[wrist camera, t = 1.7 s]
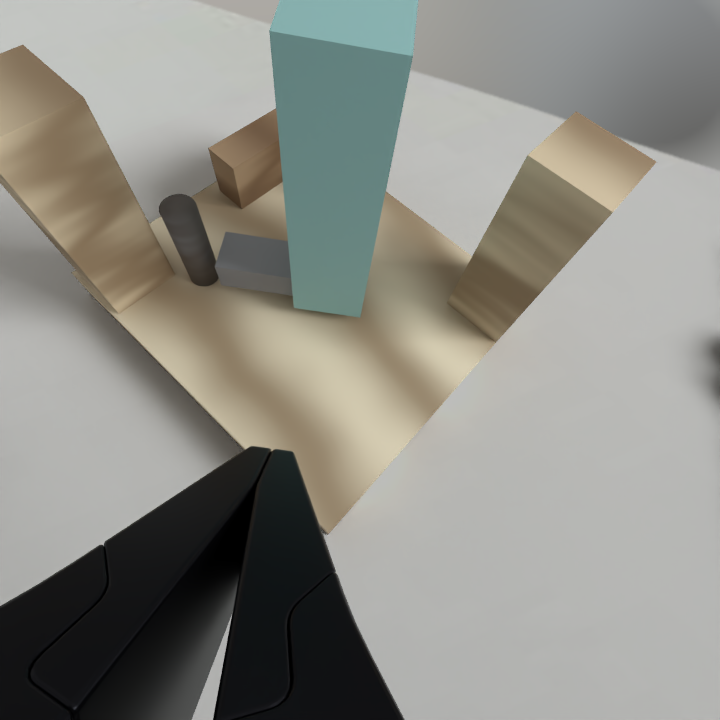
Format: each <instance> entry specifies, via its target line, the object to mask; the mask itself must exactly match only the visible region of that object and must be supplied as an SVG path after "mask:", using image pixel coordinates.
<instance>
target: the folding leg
mask: <svg viewBox="0 0 720 720" xmlns="http://www.w3.org/2000/svg"><path fill="white" fill-rule="evenodd" d="M417 7H418V0H280V1H279V4H278V7H277V10H276V13H275V16H274V19H273V22H272V25H271V28H270V31H269V32H270V43H271V54H272V66H273V77H274V88H275V100H276V111H277V122H278V134H279V145H280V157H281V168H282V179H283V191H284V202H285V213H286V225H287V236H288V241H284V240H277V239H271V238H264V237H258V236H251V235H245V234H238V233H232V232H225V235H224V238H223V242H222V245H221V248H220V251H219V255H218V258H217V261H216V264H215V269H216V272H217V274H218V277H219V280H220V283H221V285H223V286H230V287H236V288H243V289H250V290H257V291H263V292H270V293H277V294H284V295H291V296H293V304H294V308H298V309H305V310H312V311H319V312H326V313H332V314H339V315H346V316H353V317H360V316H361V311H362V306H363V301H364V296H365V291H366V286H367V281H368V276H369V271H370V266H371V261H372V256H373V251H374V246H375V242H376V237H377V232H378V227H379V222H380V217H381V212H382V207H383V202H384V197H385V192H386V187H387V182H388V177H389V172H390V167H391V162H392V157H393V152H394V147H395V142H396V137H397V132H398V127H399V122H400V117H401V112H402V107H403V102H404V97H405V92H406V88H407V83H408V78H409V73H410V68H411V63H412V58H413V49H414V39H415V28H416V18H417Z"/></svg>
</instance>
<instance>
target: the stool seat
mask: <svg viewBox="0 0 720 720" xmlns="http://www.w3.org/2000/svg"><path fill="white" fill-rule="evenodd" d="M208 149H209V152H210V156H211V160H212V164H213V167H214V171H215V175H216V178H217V181H216V182H215V183H213V184H211V185H210V186H208V187H207V188H205V189H204V190H202V191H200V192H199V193H197V194H196V195H194V196H192V197H190V196H187V195H183V194H175V195H171V196H169V197H167V198H165V199H164V200H163V201H162V202H161V204H160V206H159V212H160V215H161V217H159V218H158V219H156V220H154V221H153V222H151V223H150V224H149V223H148V221H147V219H146V217H145V215H144V213H143V211H142V209H141V207H140V205H139V203H138V201H137V200H136V198H135V196H134V194H133V192H132V190H131V188H130V186H129V184H128V182H127V180H126V178H125V176H124V174H123V172H122V171H121V169H120V167H119V165H118V163H117V161H116V159H115V157H114V155H113V153H112V151H111V149H110V147H109V145H108V143H107V141H106V140H105V138H104V136H103V134H102V132H101V130H100V128H99V126H98V124H97V122H96V120H95V118H94V116H93V114H92V112H91V111H90V109H89V107H88V105H87V103H86V101H85V99H84V97H83V96H82V95H80V94H79V93H78V92H77V91H76V90H75V89H73V88H72V87H71V86H70V85H69V84H68V83H66V82H65V81H64V80H63V79H62V78H61V77H60V76H58V75H57V74H56V73H55V72H54V71H53V70H51V69H50V68H49V67H48V66H47V65H46V64H44V63H43V62H42V61H41V60H40V59H39V58H38V57H36V56H35V55H34V54H33V53H32V52H31V51H29V50H28V49H27V48H26V47H25V46H24V45H21V46H18V47H16V48H13V49H11V50H8V51H6V52H3V53H1V54H0V183H1V184H2V186H3V187H4V188H5V189H6V190H7V191H8V192H9V194H10V195H11V196H12V197H13V198H14V199H15V200H16V202H17V203H18V204H19V205H20V206H21V207H22V208H23V210H24V211H25V212H26V213H27V214H28V215H29V217H30V218H31V219H32V220H33V221H34V222H35V223H36V225H37V226H38V227H39V228H40V229H41V230H42V231H43V233H44V234H45V235H46V236H47V237H48V238H49V240H50V241H51V242H52V243H53V244H54V245H55V246H56V248H57V249H58V250H59V251H60V252H61V253H62V254H63V256H64V257H65V258H66V259H67V260H68V261H69V262H70V264H71V265H72V266H73V267H74V268H75V269H76V270H75V271H73V272H72V274H73V275H74V276H75V277H76V278H77V279H78V281H79V282H80V283H81V284H82V285H83V286H84V287H85V288H86V290H87V291H88V292H89V293H90V294H91V295H92V296H93V297H94V298H95V299H96V300H97V301H98V302H99V303H100V304H101V305H102V306H103V307H104V308H105V309H106V310H107V311H108V312H109V313H110V314H111V315H112V316H113V317H114V318H115V319H116V320H117V321H118V322H119V323H120V324H121V325H122V326H123V327H124V328H125V329H126V330H127V331H128V332H129V334H130V335H131V336H132V337H133V338H134V339H135V340H136V341H137V342H138V343H139V344H140V345H141V346H142V347H143V348H144V349H145V350H146V351H147V352H148V353H149V354H150V355H151V356H152V357H153V358H154V359H155V360H156V361H157V362H158V363H159V364H160V365H161V366H162V367H163V368H164V369H165V370H166V371H167V372H168V373H169V374H170V375H171V376H172V377H173V378H174V379H175V380H176V381H177V382H178V383H179V384H180V385H181V386H182V387H183V388H184V389H185V390H186V391H187V392H188V393H189V394H190V395H191V396H192V397H193V398H194V400H195V401H196V402H197V403H198V404H199V405H200V406H201V407H202V408H203V409H204V410H205V411H206V412H207V413H208V414H209V415H210V416H211V417H212V418H213V419H214V420H215V421H216V422H217V423H218V424H219V425H220V426H221V427H222V428H223V429H224V430H225V431H226V432H227V433H228V434H229V435H230V436H231V437H232V438H233V439H234V440H235V441H236V442H237V443H238V444H239V445H240V446H241V447H242V448H243V449H244V450H245V449H247V448H248V447H250V446H258V447H265V448H270V449H271V451H273V450H274V449H280V450H288V451H293V452H294V454H295V456H296V459H297V462H298V465H299V468H300V471H301V474H302V476H303V479H304V482H305V485H306V488H307V491H308V493H309V496H310V499H311V502H312V505H313V508H314V510H315V513H316V516H317V519H318V522H319V525H320V527H321V528H322V529H323V530H324V531H325V532H326V534H327V535H328V534H329V533H330V532H331V531H332V529H333V528H334V527H335V526H336V525H337V524H338V523H339V521H340V520H341V519H342V518H343V517H344V516H345V515H346V513H347V512H348V511H349V510H350V509H351V508H352V507H353V505H354V504H355V503H356V502H357V501H358V500H359V499H360V497H361V496H362V495H363V494H364V493H365V492H366V490H367V489H368V488H369V487H370V486H371V485H372V484H373V482H374V481H375V480H376V479H377V478H378V477H379V476H380V474H381V473H382V472H383V471H384V470H385V469H386V468H387V466H388V465H389V464H390V463H391V462H392V461H393V460H394V458H395V457H396V456H397V455H398V454H399V453H400V452H401V450H402V449H403V448H404V447H405V446H406V445H407V444H408V442H409V441H410V440H411V439H412V438H413V437H414V436H415V434H416V433H417V432H418V431H419V430H420V429H421V428H422V426H423V425H424V424H425V423H426V422H427V421H428V420H429V418H430V417H431V416H432V415H433V414H434V413H435V412H436V410H437V409H438V408H439V407H440V406H441V405H442V403H443V402H444V401H445V400H446V399H447V398H448V397H449V395H450V394H451V393H452V392H453V391H454V390H455V389H456V387H457V386H458V385H459V384H460V383H461V382H462V381H463V379H464V378H465V377H466V376H467V375H468V374H469V373H470V371H471V370H472V369H473V368H474V367H475V366H476V365H477V363H478V362H479V361H480V360H481V359H482V358H483V357H484V355H485V354H486V353H487V352H488V351H489V350H490V349H491V347H492V346H493V345H494V344H495V343H496V342H497V341H498V339H499V338H500V337H501V336H502V335H503V334H504V333H505V332H506V331H507V329H508V328H509V327H510V326H511V325H512V324H513V323H514V322H515V321H516V319H517V318H518V317H519V316H520V315H521V314H522V313H523V312H524V311H525V309H526V308H527V307H528V306H529V305H530V304H531V303H532V302H533V301H534V299H535V298H536V297H537V296H538V295H539V294H540V293H541V292H542V291H543V289H544V288H545V287H546V286H547V285H548V284H549V283H550V282H551V281H552V279H553V278H554V277H555V276H556V275H557V274H558V273H559V272H560V271H561V269H562V268H563V267H564V266H565V265H566V264H567V263H568V262H569V261H570V259H571V258H572V257H573V256H574V255H575V254H576V253H577V252H578V250H579V249H580V248H581V247H582V246H583V245H584V244H585V243H586V242H587V240H588V239H589V238H590V237H591V236H592V235H593V234H594V233H595V232H596V230H597V229H598V228H599V227H600V226H601V225H602V224H603V223H604V222H605V220H606V219H607V218H608V217H609V216H610V215H611V214H612V213H613V212H614V210H615V209H616V208H617V207H618V206H619V205H620V203H621V202H622V201H623V200H624V199H625V198H626V197H627V195H628V194H629V193H630V192H631V191H632V190H633V189H634V187H635V186H636V185H637V184H638V183H639V182H640V180H641V179H642V178H643V177H644V176H645V175H646V174H647V172H648V171H649V170H650V169H651V168H652V167H653V165H654V164H655V163H656V161H654V160H653V159H651V158H650V157H648V156H646V155H645V154H643V153H642V152H640V151H638V150H637V149H635V148H634V147H632V146H630V145H629V144H627V143H626V142H624V141H623V140H621V139H619V138H618V137H616V136H615V135H613V134H611V133H610V132H608V131H607V130H605V129H603V128H602V127H600V126H599V125H597V124H595V123H594V122H592V121H591V120H589V119H587V118H586V117H584V116H582V115H581V114H579V113H578V112H575V113H574V114H573V115H572V116H571V117H570V118H568V119H567V120H566V121H565V122H564V123H563V124H562V125H561V126H560V127H558V128H557V129H556V130H555V131H554V132H553V133H552V134H551V135H550V136H548V137H547V138H546V139H545V140H544V141H543V142H542V143H541V144H540V145H539V146H537V147H536V148H535V149H534V150H533V151H532V152H531V153H530V154H529V155H528V156H527V158H526V159H525V161H524V163H523V165H522V167H521V169H520V170H519V172H518V174H517V176H516V178H515V179H514V181H513V183H512V185H511V187H510V189H509V190H508V192H507V194H506V196H505V198H504V200H503V201H502V203H501V205H500V207H499V209H498V210H497V212H496V214H495V216H494V218H493V220H492V221H491V223H490V225H489V227H488V229H487V231H486V232H485V234H484V236H483V238H482V240H481V241H480V243H479V245H478V247H477V249H476V251H475V252H474V254H473V256H471V255H469V254H468V253H467V252H465V251H464V250H463V249H461V248H460V247H459V246H458V245H456V244H455V243H454V242H452V241H451V240H450V239H448V238H447V237H446V236H444V235H443V234H442V233H440V232H439V231H438V230H436V229H435V228H434V227H432V226H431V225H430V224H428V223H427V222H426V221H424V220H423V219H422V218H420V217H419V216H418V215H416V214H415V213H414V212H413V211H411V210H410V209H409V208H407V207H406V206H405V205H403V204H402V203H401V202H399V201H398V200H397V199H395V198H394V197H393V196H391V195H390V194H389V193H387V192H385V197H384V202H383V207H382V212H381V217H380V222H379V227H378V232H377V237H376V242H375V246H374V251H373V256H372V261H371V266H370V271H369V276H368V281H367V286H366V291H365V296H364V301H363V306H362V311H361V316H360V317H353V316H346V315H339V314H332V313H326V312H319V311H312V310H305V309H298V308H294V304H293V296H291V295H284V294H277V293H270V292H263V291H257V290H250V289H243V288H236V287H230V286H223V285H221V283H220V280H219V277H218V274H217V272H216V269H215V264H216V261H217V258H218V255H219V251H220V248H221V245H222V242H223V238H224V235H225V232H232V233H238V234H245V235H251V236H258V237H264V238H271V239H277V240H284V241H288V236H287V225H286V213H285V202H284V191H283V179H282V168H281V157H280V145H279V134H278V122H277V111H276V109H274V110H272V111H271V112H269V113H267V114H266V115H264V116H262V117H261V118H259V119H257V120H255V121H254V122H252V123H250V124H249V125H247V126H245V127H244V128H242V129H240V130H239V131H237V132H235V133H233V134H232V135H230V136H228V137H227V138H225V139H223V140H222V141H220V142H218V143H217V144H215V145H213V146H211V147H210V148H208Z"/></svg>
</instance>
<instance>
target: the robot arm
mask: <svg viewBox="0 0 720 720" xmlns="http://www.w3.org/2000/svg"><path fill="white" fill-rule="evenodd" d="M335 572H336V571H335V567H334V564H333V562H332V559H331V556H330V553H329V550H328V547H327V545H326V542H325V539H324V536H323V533H322V530H321V528H320V525H319V522H318V519H317V516H316V513H315V510H314V508H313V505H312V502H311V499H310V496H309V493H308V491H307V488H306V485H305V482H304V479H303V476H302V474H301V471H300V468H299V465H298V462H297V459H296V456H295V454H294V452H293V451H288V450H280V449H274V450H273V451H271V449H270V448H265V447H258V446H250V447H248V448H247V449H245V450H244V451H242V452H241V453H239V454H238V455H236V456H235V457H233V458H232V459H230V460H228V461H227V462H225V463H224V464H222V465H221V466H219V467H218V468H216V469H215V470H213V471H212V472H210V473H209V474H207V475H206V476H204V477H203V478H201V479H200V480H198V481H197V482H195V483H193V484H192V485H190V486H189V487H187V488H186V489H184V490H183V491H181V492H180V493H178V494H177V495H175V496H174V497H172V498H171V499H169V500H168V501H166V502H165V503H163V504H162V505H160V506H158V507H157V508H155V509H154V510H152V511H151V512H149V513H148V514H146V515H145V516H143V517H142V518H140V519H139V520H137V521H136V522H134V523H133V524H131V525H130V526H128V527H127V528H125V529H123V530H122V531H120V532H119V533H117V534H116V535H114V536H113V537H111V538H110V539H108V540H107V541H105V543H104V546H103V545H99V546H97V547H96V548H94V549H93V550H91V551H90V552H88V553H87V554H85V555H84V556H82V557H81V558H79V559H77V560H76V561H74V562H73V563H71V564H70V565H68V566H66V567H65V568H63V569H62V570H60V571H58V572H57V573H55V574H54V575H52V576H50V577H49V578H47V579H46V580H44V581H42V582H41V583H39V584H38V585H36V586H34V587H32V588H31V589H29V590H27V591H26V592H24V593H22V594H20V595H19V596H17V597H15V598H13V599H12V600H10V601H8V602H7V603H5V604H3V605H1V606H0V720H191V719H192V717H193V714H194V712H195V709H196V706H197V704H198V701H199V699H200V696H201V693H202V691H203V688H204V685H205V683H206V680H207V678H208V675H209V672H210V670H211V667H212V665H213V662H214V659H215V657H216V654H217V651H218V649H219V646H220V644H221V641H222V638H223V636H224V633H225V631H226V628H227V625H228V623H229V620H230V617H231V615H232V619H231V624H230V630H229V635H228V641H227V646H226V652H225V657H224V663H223V668H222V674H221V679H220V685H219V690H218V696H217V701H216V707H215V712H214V718H213V720H404V718H403V716H402V714H401V712H400V710H399V708H398V706H397V704H396V702H395V700H394V698H393V696H392V694H391V692H390V691H389V689H388V687H387V685H386V683H385V681H384V679H383V677H382V675H381V673H380V671H379V669H378V667H377V665H376V663H375V662H374V660H373V658H372V656H371V654H370V652H369V650H368V647H367V645H366V643H365V641H364V639H363V637H362V635H361V633H360V631H359V629H358V627H357V624H356V622H355V620H354V617H353V615H352V612H351V610H350V607H349V605H348V602H347V600H346V597H345V595H344V592H343V589H342V586H341V584H340V581H339V578H338V575H337V574H336V573H335ZM232 612H233V613H232Z"/></svg>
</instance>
